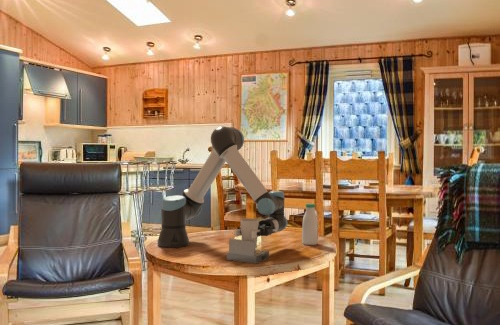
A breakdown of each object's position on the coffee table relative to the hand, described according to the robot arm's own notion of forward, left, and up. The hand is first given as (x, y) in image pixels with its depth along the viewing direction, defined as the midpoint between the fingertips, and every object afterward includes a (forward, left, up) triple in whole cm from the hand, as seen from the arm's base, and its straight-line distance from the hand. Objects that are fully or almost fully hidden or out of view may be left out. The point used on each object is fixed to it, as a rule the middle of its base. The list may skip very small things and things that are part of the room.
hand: (243, 234), depth 202 cm
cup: (0, +5, -7) cm, 8 cm away
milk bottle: (+11, +49, -11) cm, 51 cm away
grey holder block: (0, +4, -11) cm, 12 cm away
